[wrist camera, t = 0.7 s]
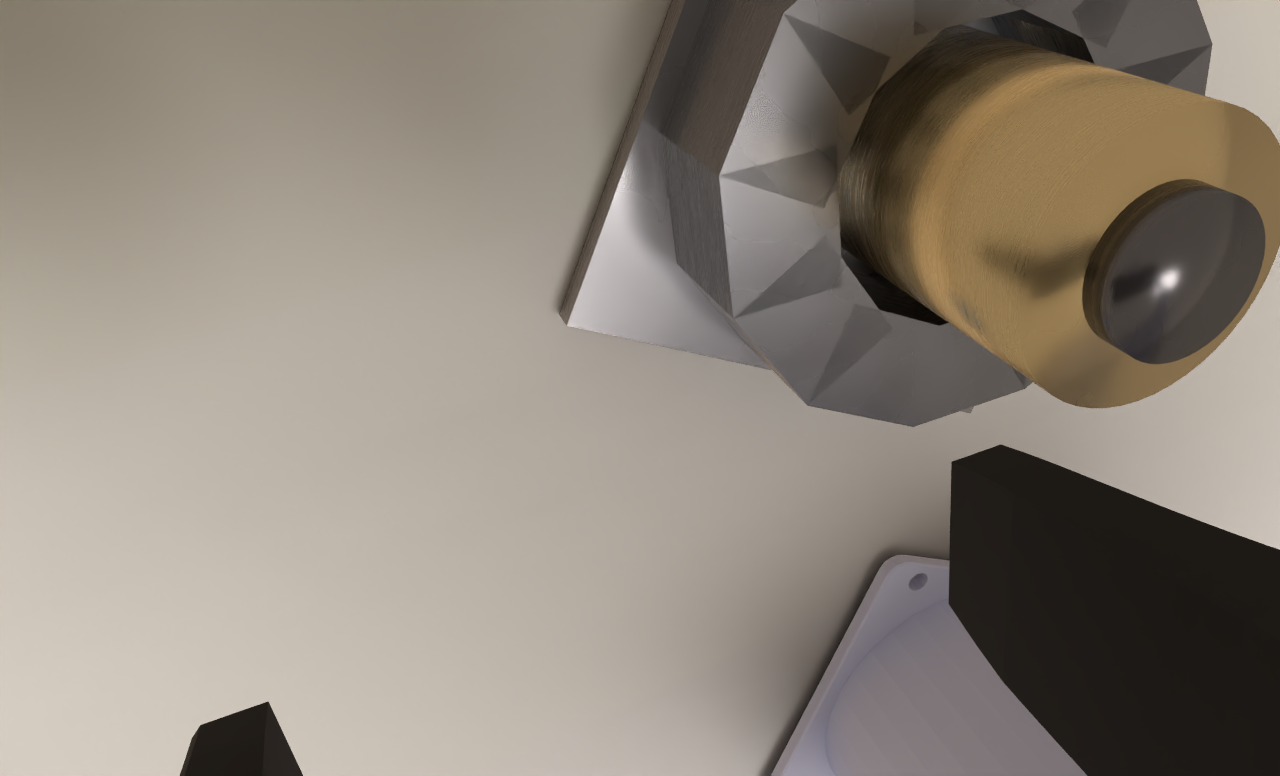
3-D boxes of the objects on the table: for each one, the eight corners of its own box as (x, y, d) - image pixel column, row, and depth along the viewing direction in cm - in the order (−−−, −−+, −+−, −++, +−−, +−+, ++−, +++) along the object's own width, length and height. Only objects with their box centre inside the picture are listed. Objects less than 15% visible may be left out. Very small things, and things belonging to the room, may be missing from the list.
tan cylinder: (1036, 60, 20) (1382, 167, 14) (932, 272, 21) (1205, 448, 15) (854, -21, 18) (1170, 65, 12) (754, 219, 19) (991, 400, 13)
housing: (1188, -41, 21) (1321, -19, 18) (957, 402, 24) (1043, 471, 21) (770, -275, 16) (873, -289, 13) (559, 314, 19) (610, 389, 17)
